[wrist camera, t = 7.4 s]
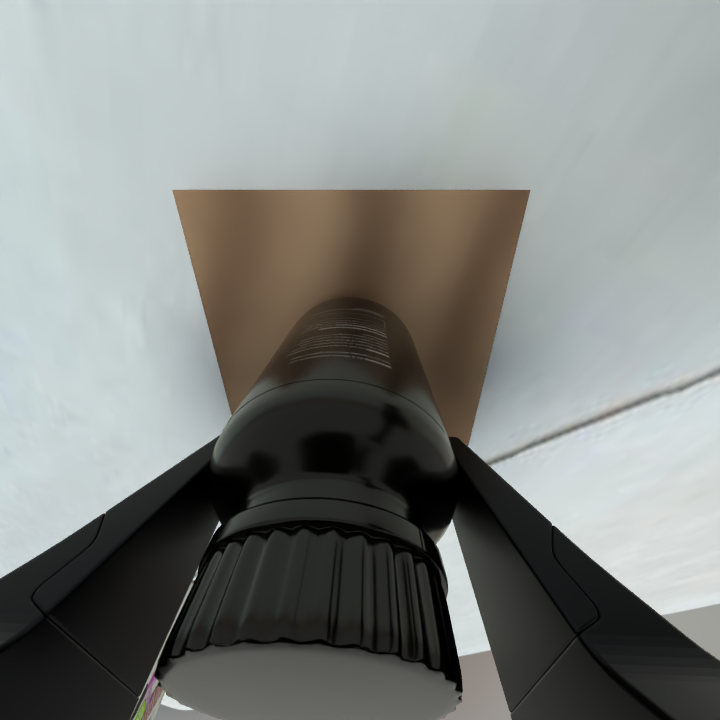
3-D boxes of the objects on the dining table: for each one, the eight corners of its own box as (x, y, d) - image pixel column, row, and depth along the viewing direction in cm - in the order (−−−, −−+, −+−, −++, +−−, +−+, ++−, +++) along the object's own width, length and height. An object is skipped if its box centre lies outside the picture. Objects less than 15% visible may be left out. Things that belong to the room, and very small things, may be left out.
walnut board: (518, 192, 13) (530, 189, 12) (461, 445, 20) (465, 456, 19) (185, 192, 13) (172, 190, 12) (246, 441, 20) (241, 451, 19)
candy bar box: (197, 623, 35) (72, 918, 20) (156, 617, 34) (-3, 915, 19) (200, 580, 30) (38, 928, 15) (153, 571, 29) (-64, 925, 14)
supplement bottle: (269, 370, 15) (39, 706, 5) (329, 265, 13) (113, 497, 2) (368, 424, 17) (366, 770, 6) (441, 341, 14) (657, 700, 4)
